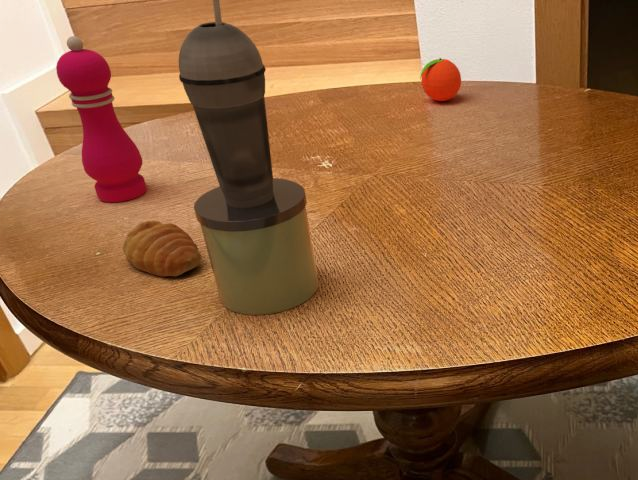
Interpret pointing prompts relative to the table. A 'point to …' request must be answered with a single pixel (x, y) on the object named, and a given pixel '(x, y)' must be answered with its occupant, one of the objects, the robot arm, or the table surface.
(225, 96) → the beverage cup
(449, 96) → the clementine
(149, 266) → the pastry
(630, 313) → the table surface
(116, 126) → the pepper mill
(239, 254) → the jar
